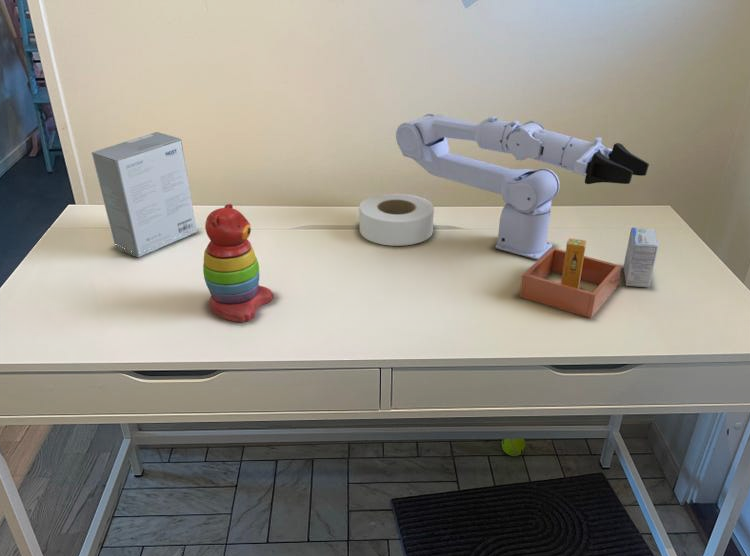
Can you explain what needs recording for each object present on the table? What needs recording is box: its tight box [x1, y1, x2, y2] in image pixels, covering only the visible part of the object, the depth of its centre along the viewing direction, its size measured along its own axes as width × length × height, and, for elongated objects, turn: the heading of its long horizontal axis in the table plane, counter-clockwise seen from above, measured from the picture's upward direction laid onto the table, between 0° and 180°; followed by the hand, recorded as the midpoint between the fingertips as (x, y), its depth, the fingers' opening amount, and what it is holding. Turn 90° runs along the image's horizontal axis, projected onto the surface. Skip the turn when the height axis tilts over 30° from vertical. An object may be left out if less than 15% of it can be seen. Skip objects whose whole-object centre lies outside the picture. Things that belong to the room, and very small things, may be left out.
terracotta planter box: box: [519, 246, 622, 319], centre depth 131 cm, size 14×14×4 cm
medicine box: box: [623, 227, 659, 289], centre depth 134 cm, size 8×4×9 cm, turn 168°
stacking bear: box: [202, 203, 275, 323], centre depth 121 cm, size 11×10×18 cm
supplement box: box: [560, 237, 587, 289], centre depth 129 cm, size 3×3×10 cm
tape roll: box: [358, 193, 435, 247], centre depth 151 cm, size 16×16×6 cm
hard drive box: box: [91, 131, 198, 258], centre depth 142 cm, size 16×8×20 cm, turn 144°
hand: (639, 173), depth 125 cm, fingers open, 7 cm apart
